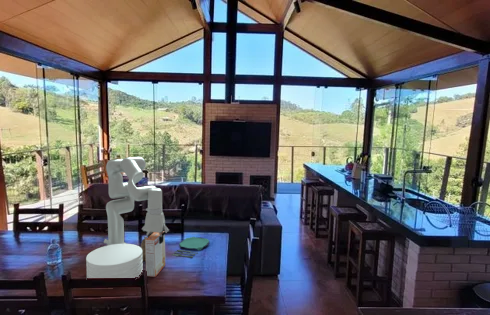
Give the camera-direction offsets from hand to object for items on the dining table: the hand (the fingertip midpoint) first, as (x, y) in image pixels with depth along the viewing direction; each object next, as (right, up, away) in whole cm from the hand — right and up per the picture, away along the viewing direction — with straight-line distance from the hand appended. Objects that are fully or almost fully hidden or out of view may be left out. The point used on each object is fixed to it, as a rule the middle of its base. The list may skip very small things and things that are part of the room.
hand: (155, 242), depth 167 cm
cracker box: (0, -17, +2) cm, 17 cm away
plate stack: (-21, -17, -2) cm, 27 cm away
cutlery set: (+14, -14, +35) cm, 40 cm away
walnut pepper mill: (-10, -15, +15) cm, 24 cm away
